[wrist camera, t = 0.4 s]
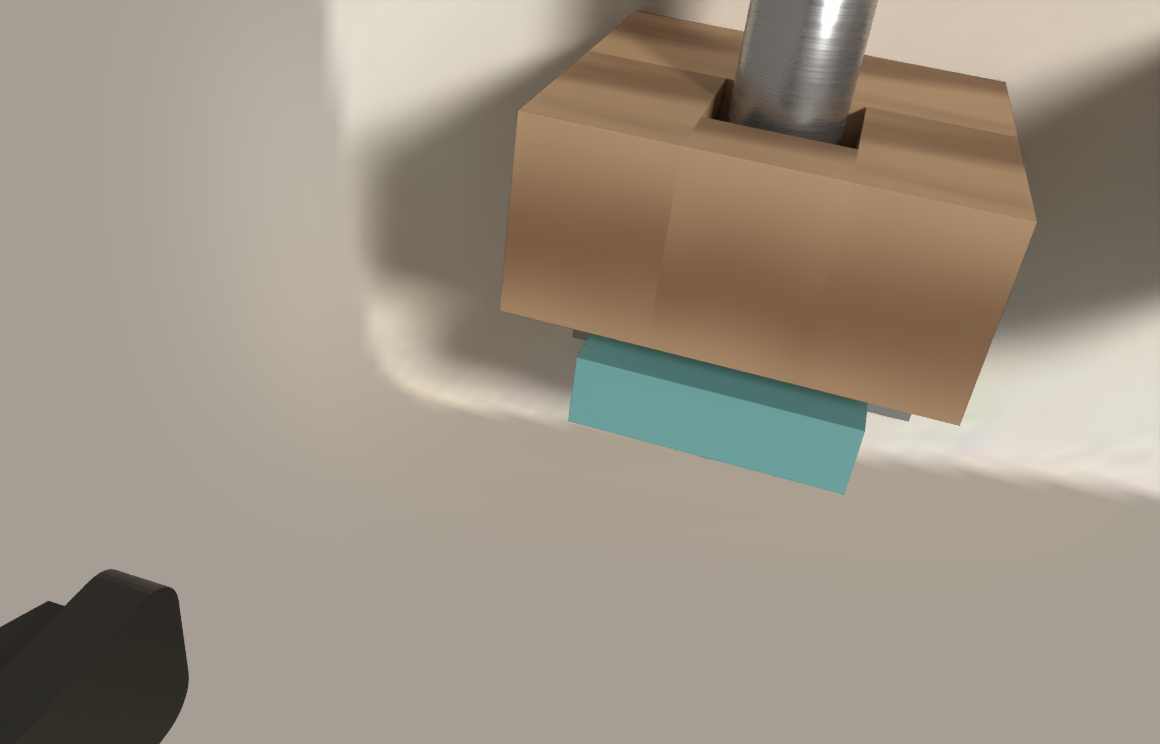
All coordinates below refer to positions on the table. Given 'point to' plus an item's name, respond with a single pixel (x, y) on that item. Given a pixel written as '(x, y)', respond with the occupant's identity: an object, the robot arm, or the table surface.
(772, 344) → the bearing block
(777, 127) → the shaft
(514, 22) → the table surface
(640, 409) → the spacer
